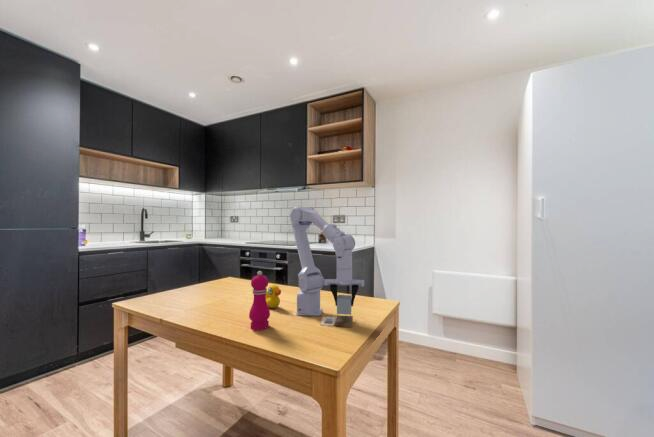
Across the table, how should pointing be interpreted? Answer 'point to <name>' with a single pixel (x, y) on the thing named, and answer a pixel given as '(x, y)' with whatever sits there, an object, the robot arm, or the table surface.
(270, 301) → the duckling
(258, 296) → the pepper mill
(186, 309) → the table surface
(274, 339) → the table surface
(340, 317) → the base brick
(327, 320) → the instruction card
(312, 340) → the table surface
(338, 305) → the gray brick
